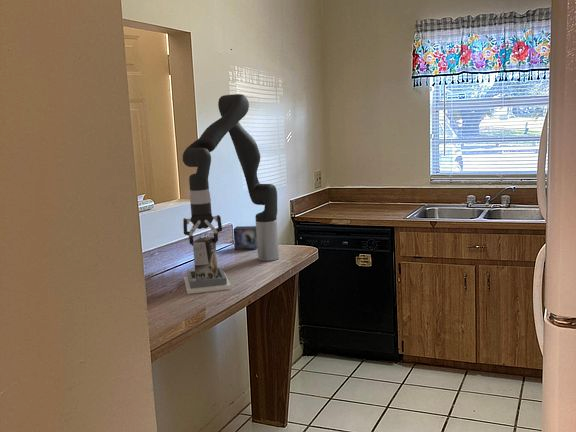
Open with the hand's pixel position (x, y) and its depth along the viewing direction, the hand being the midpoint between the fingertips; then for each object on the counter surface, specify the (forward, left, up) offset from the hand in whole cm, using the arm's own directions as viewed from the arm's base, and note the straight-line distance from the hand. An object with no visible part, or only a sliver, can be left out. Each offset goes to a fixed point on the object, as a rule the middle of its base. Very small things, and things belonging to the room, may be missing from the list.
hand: (204, 244), depth 226 cm
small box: (-57, +24, -16) cm, 64 cm away
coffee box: (0, 0, -15) cm, 15 cm away
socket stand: (0, 0, -16) cm, 16 cm away
